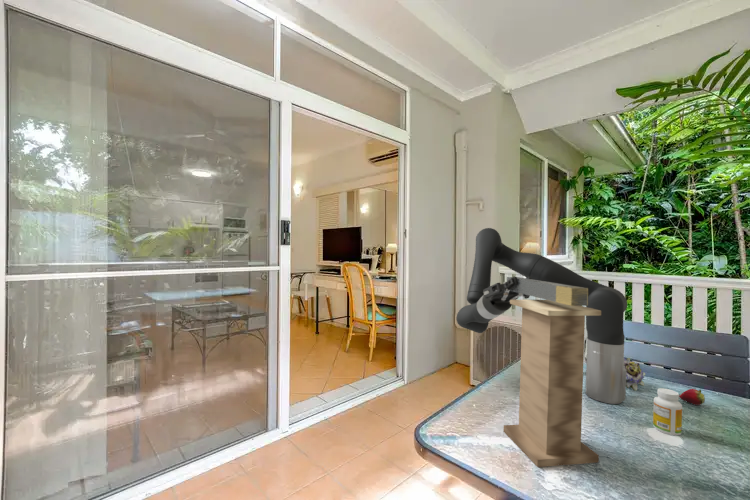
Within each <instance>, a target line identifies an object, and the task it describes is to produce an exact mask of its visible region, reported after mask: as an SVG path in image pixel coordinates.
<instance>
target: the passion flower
mask: <svg viewBox="0 0 750 500" xmlns="http://www.w3.org/2000/svg"><path fill="white" fill-rule="evenodd" d="M624 368H625V369H626V389H629V388H630V389H631V390H633V391H634V392H636V391H637V390H638V385H640V386H642V387H645V383H644V381H645V376H646V372H644V371H643V370H642V369H641V366H640V363H639V362H636V363H635V362H634V361H633V360H631V358H630V357H624Z"/></svg>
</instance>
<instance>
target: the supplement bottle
mask: <svg viewBox="0 0 750 500" xmlns="http://www.w3.org/2000/svg"><path fill="white" fill-rule="evenodd" d="M679 395H680V394H679V392H677V391H675V390H672V389H668V388H663V387H662V388H660V387H659V388H657V396H655V397H654V398H653V408H652V409H653V411H652V415H653V416H652V426H653V428H655V429H656V430H657V431H659V432H661V433H663V434H667V435H669V436H681V435H682V432H683V431H682V427H683V426H682V425H683V405H682V403H681V402H680V401H679V398H680V397H679Z"/></svg>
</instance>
